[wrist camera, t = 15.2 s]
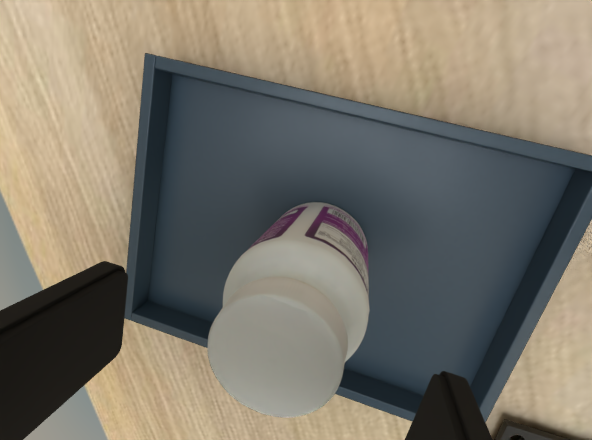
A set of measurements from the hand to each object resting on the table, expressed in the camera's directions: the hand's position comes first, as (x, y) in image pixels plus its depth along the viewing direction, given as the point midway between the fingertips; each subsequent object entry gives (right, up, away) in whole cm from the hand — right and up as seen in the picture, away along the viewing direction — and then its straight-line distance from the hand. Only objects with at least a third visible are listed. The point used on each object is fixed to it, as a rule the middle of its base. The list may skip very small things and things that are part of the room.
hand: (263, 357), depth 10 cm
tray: (+2, +3, +9) cm, 10 cm away
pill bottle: (+2, +2, +9) cm, 10 cm away
